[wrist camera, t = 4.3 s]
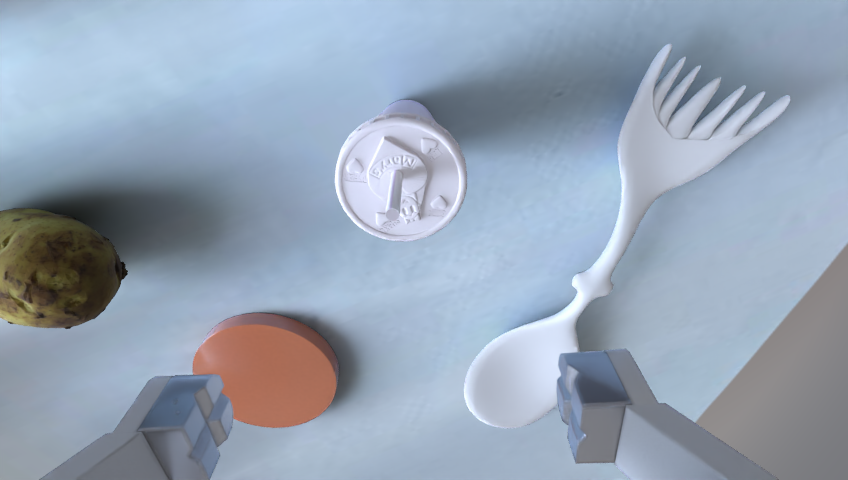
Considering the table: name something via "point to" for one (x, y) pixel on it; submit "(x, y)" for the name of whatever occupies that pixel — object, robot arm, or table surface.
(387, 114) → the smoothie
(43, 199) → the table surface
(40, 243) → the green bumpy oval lump
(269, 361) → the plant saucer
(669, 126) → the spoon
